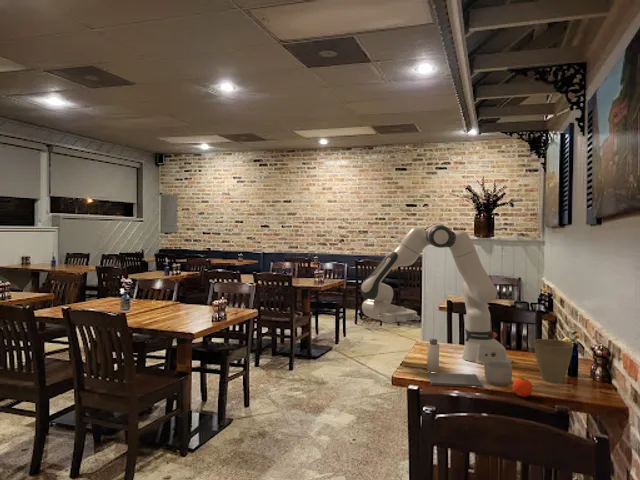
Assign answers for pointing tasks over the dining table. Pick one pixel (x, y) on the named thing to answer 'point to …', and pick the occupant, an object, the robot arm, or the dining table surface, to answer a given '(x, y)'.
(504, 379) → the teacup
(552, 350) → the plant pot
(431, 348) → the pepper mill
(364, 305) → the robot arm
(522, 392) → the clementine
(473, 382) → the slate board
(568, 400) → the dining table surface
